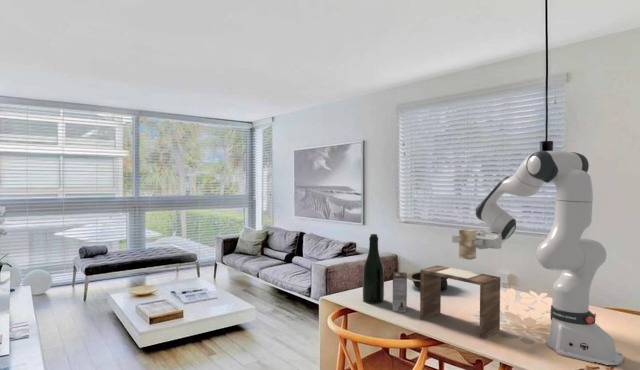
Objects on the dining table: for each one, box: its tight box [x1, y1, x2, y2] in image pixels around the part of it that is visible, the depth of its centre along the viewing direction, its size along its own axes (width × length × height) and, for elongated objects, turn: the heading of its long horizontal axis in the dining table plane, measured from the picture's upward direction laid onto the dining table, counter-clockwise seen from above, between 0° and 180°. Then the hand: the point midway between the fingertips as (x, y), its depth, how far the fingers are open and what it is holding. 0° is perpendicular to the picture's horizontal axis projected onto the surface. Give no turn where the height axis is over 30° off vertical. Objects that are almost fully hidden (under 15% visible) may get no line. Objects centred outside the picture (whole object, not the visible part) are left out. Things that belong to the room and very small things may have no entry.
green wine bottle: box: [362, 233, 385, 304], centre depth 195 cm, size 10×10×33 cm
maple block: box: [458, 228, 477, 261], centre depth 168 cm, size 5×5×12 cm
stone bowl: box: [407, 270, 449, 291], centre depth 220 cm, size 25×25×9 cm
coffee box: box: [392, 271, 408, 313], centre depth 183 cm, size 9×6×16 cm
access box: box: [419, 265, 501, 339], centre depth 164 cm, size 28×14×21 cm, turn 41°
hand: (466, 241), depth 168 cm, fingers closed on maple block, 5 cm apart
